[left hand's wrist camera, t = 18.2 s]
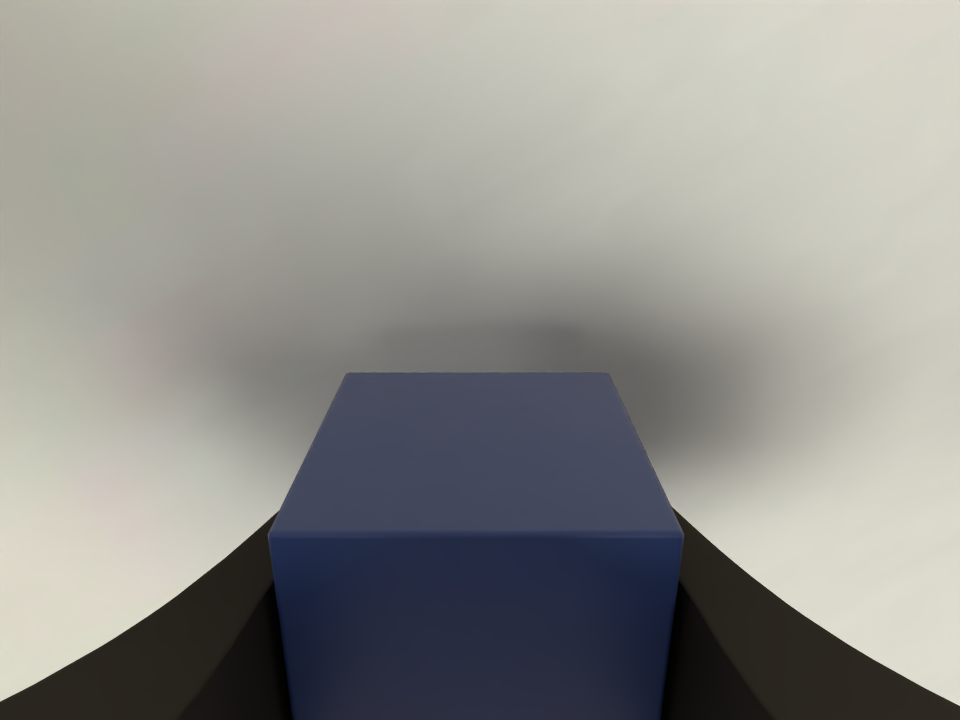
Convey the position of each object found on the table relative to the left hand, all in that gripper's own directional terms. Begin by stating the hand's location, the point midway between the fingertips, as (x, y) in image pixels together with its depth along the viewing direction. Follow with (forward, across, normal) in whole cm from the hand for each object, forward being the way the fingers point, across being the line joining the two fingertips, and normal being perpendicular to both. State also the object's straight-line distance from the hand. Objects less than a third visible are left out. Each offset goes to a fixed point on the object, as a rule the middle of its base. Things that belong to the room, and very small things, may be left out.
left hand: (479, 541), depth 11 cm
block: (+1, 0, 0) cm, 1 cm away
